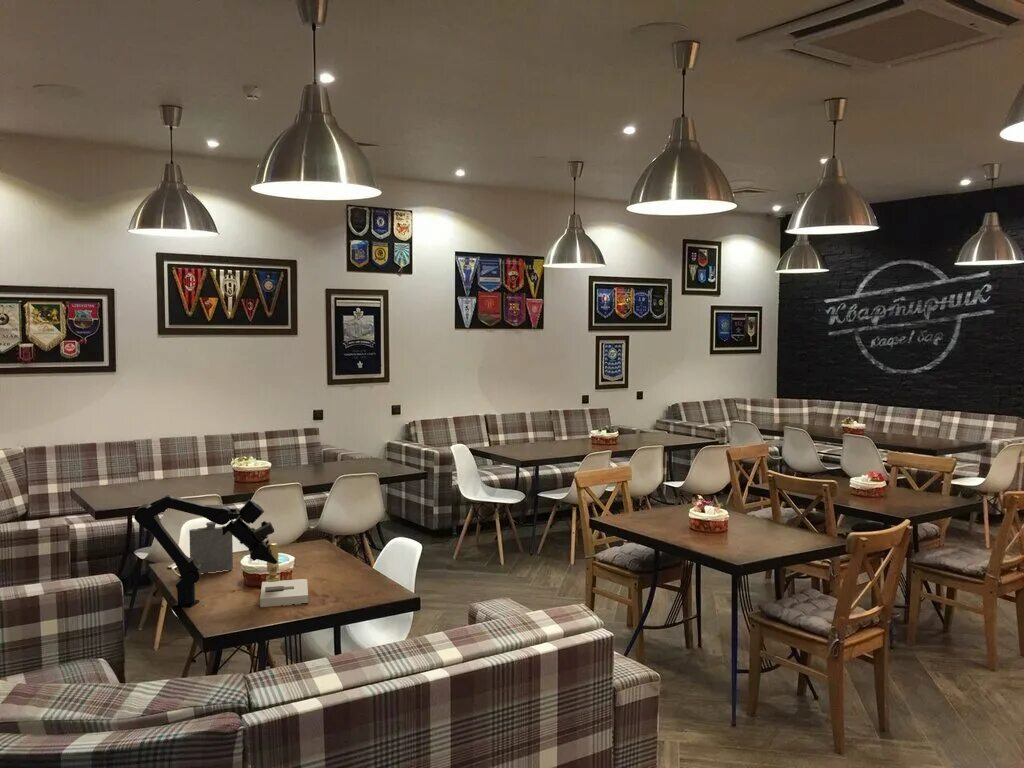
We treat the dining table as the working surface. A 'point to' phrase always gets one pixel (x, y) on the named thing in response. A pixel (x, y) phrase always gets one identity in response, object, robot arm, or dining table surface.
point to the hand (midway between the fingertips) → (276, 561)
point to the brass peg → (273, 567)
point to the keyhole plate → (284, 593)
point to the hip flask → (211, 548)
